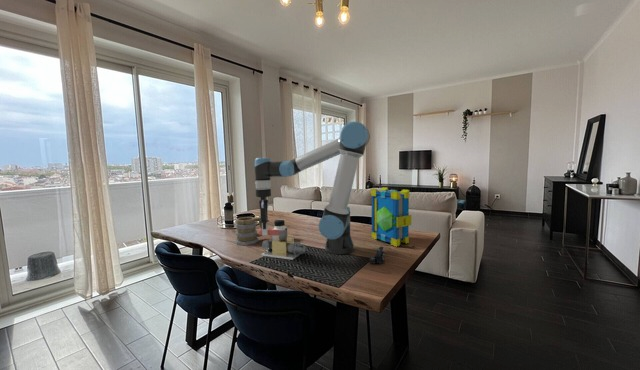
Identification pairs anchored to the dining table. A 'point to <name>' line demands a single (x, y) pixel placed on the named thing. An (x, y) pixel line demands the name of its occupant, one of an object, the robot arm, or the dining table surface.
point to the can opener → (378, 256)
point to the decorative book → (390, 215)
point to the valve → (283, 248)
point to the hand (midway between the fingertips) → (265, 234)
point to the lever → (276, 233)
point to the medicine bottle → (278, 227)
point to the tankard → (247, 230)
